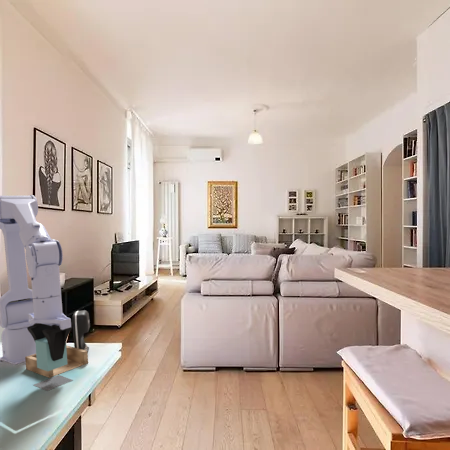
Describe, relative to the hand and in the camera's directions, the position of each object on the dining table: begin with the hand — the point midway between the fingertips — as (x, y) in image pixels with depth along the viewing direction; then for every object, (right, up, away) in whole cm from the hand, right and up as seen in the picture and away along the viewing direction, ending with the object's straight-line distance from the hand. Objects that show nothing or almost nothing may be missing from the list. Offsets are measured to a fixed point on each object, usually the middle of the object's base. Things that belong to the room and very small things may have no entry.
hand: (51, 357), depth 83 cm
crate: (-3, -6, +10) cm, 12 cm away
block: (0, -2, 0) cm, 2 cm away
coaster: (0, -6, 0) cm, 6 cm away
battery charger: (0, -6, +20) cm, 21 cm away
